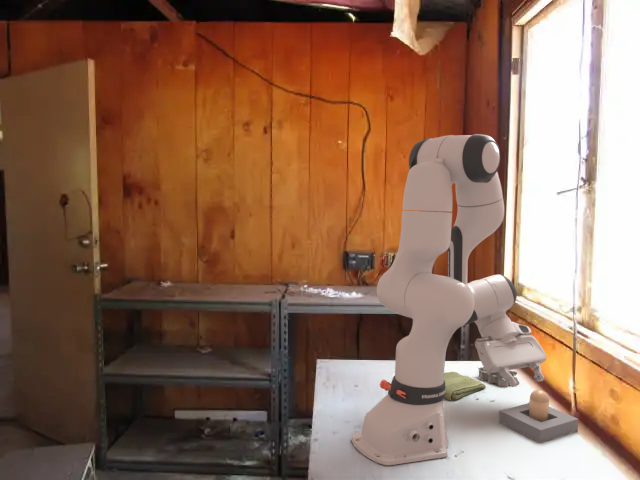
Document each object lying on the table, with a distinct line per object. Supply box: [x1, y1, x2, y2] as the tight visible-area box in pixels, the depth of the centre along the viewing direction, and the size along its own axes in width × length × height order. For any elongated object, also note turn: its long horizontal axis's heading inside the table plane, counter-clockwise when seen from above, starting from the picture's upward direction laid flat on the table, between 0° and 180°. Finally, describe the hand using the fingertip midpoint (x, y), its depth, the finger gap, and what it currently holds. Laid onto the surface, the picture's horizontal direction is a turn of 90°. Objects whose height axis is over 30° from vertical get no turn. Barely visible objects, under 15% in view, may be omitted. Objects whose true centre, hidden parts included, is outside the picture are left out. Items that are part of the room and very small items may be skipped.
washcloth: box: [444, 371, 487, 402], centre depth 147 cm, size 13×18×3 cm
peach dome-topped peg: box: [529, 389, 550, 422], centre depth 123 cm, size 4×4×8 cm
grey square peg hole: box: [498, 402, 579, 443], centre depth 123 cm, size 14×12×3 cm
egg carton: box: [477, 366, 518, 388], centre depth 155 cm, size 11×8×4 cm
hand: (528, 383), depth 125 cm, fingers open, 8 cm apart
